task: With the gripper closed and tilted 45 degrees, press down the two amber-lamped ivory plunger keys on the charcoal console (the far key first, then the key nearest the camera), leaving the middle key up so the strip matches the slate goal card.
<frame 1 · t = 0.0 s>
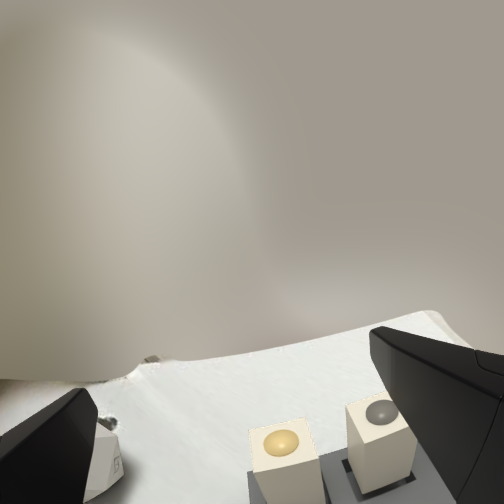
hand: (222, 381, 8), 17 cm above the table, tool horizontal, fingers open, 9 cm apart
middle key: (380, 443, 15), point 6 cm above the table, slide at 0.0 cm
die: (97, 482, 21), on the table
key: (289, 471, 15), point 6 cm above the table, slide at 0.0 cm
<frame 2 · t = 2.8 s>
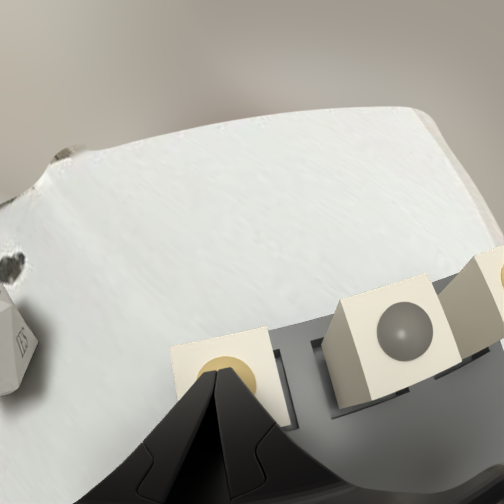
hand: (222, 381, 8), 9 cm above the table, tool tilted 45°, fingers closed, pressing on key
middle key: (380, 352, 11), point 6 cm above the table, slide at 0.0 cm
die: (16, 357, 18), on the table
console: (362, 425, 14), on the table
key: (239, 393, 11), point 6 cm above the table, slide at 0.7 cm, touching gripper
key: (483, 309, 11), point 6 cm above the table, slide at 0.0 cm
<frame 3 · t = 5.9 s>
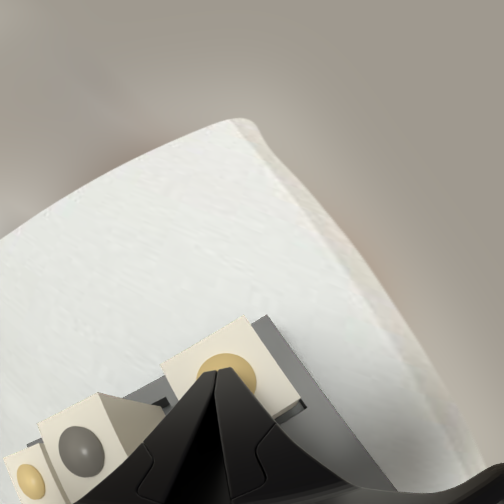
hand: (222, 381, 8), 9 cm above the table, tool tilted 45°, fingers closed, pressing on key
middle key: (120, 450, 10), point 6 cm above the table, slide at 0.0 cm
console: (198, 487, 14), on the table
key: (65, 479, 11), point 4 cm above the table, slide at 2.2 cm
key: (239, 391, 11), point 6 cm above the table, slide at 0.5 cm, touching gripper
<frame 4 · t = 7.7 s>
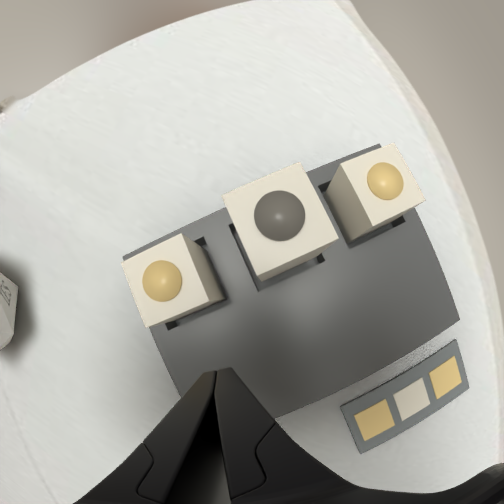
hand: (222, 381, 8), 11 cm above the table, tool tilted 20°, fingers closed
goal card: (410, 398, 18), on the table
middle key: (277, 231, 14), point 6 cm above the table, slide at 0.0 cm
die: (5, 308, 21), on the table
console: (295, 293, 20), on the table
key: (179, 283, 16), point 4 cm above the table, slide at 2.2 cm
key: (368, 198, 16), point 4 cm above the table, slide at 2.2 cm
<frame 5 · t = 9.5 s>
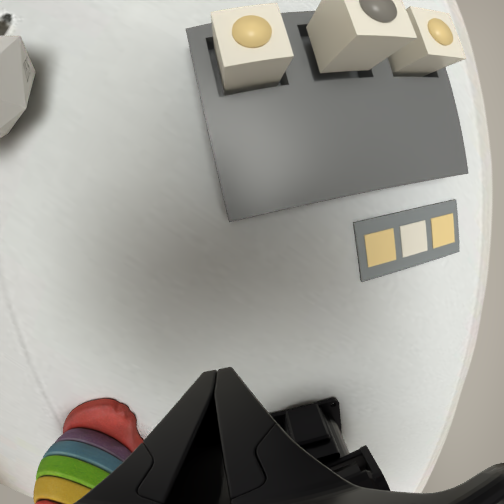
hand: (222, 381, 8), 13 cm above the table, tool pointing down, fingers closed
goal card: (412, 238, 22), on the table
middle key: (355, 29, 12), point 6 cm above the table, slide at 0.0 cm
die: (11, 98, 17), on the table
console: (333, 104, 19), on the table
stacking bear: (109, 439, 25), on the table
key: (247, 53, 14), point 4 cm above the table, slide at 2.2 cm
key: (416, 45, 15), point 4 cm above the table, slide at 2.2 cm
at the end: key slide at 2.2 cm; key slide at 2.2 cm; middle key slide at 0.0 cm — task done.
